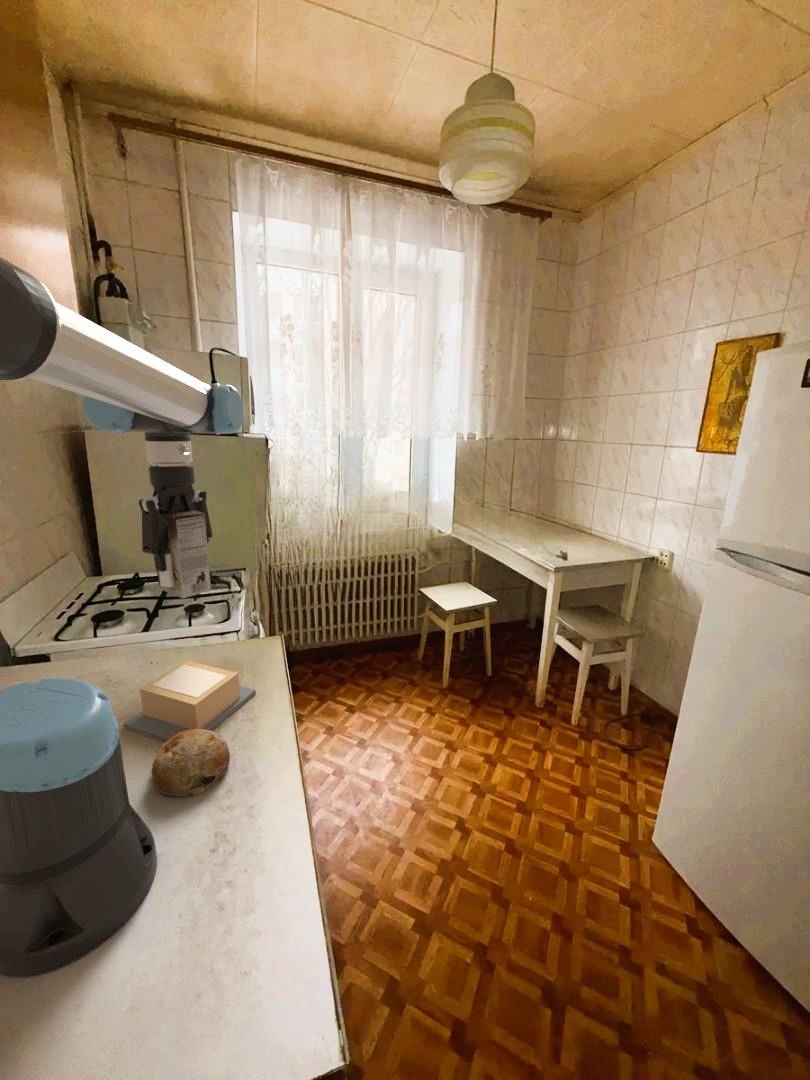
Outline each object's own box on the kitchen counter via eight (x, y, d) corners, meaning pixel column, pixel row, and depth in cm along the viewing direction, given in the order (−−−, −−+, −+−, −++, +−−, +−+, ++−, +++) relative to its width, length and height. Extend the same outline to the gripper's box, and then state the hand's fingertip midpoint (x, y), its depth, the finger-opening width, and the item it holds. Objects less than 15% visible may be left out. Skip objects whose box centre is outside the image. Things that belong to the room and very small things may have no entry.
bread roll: (170, 827, 60) (176, 796, 56) (136, 768, 64) (139, 735, 60) (236, 782, 67) (245, 752, 63) (201, 732, 72) (208, 701, 68)
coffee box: (157, 589, 89) (147, 510, 85) (188, 580, 94) (179, 506, 90) (182, 599, 84) (172, 516, 80) (213, 589, 89) (205, 511, 85)
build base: (188, 749, 69) (184, 716, 67) (123, 727, 73) (118, 696, 72) (255, 693, 83) (253, 665, 82) (197, 678, 88) (194, 651, 86)
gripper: (137, 469, 72) (154, 599, 78) (225, 461, 90) (234, 567, 96) (104, 467, 75) (123, 593, 80) (197, 460, 93) (207, 563, 99)
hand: (184, 579), depth 88 cm, fingers closed on coffee box, 7 cm apart
